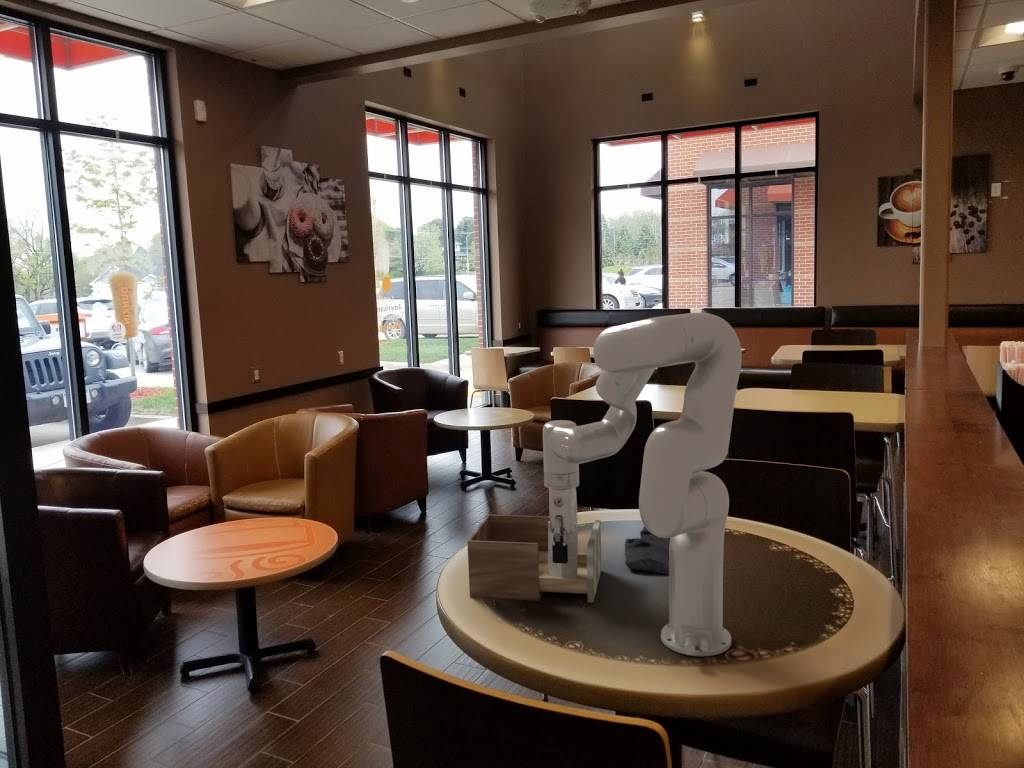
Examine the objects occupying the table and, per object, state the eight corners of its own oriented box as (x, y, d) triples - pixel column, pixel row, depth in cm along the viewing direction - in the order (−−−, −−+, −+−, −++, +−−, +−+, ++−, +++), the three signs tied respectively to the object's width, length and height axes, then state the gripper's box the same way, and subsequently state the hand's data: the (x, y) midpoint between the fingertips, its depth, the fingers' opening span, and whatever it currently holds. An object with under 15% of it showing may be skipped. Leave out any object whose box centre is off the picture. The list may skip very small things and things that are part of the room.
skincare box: (547, 573, 168) (545, 521, 166) (564, 569, 170) (563, 517, 168) (562, 583, 163) (560, 528, 161) (579, 578, 165) (578, 524, 163)
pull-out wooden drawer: (593, 602, 156) (592, 548, 155) (522, 598, 160) (520, 545, 158) (601, 569, 174) (600, 519, 172) (536, 566, 177) (535, 517, 175)
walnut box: (539, 600, 159) (537, 544, 157) (469, 596, 162) (467, 541, 160) (552, 568, 176) (550, 516, 175) (489, 565, 179) (487, 514, 178)
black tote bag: (615, 574, 173) (615, 554, 172) (627, 540, 194) (626, 522, 193) (684, 579, 169) (684, 558, 168) (688, 544, 190) (688, 526, 189)
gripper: (573, 489, 154) (575, 570, 157) (583, 468, 171) (585, 541, 173) (537, 489, 156) (539, 568, 158) (550, 467, 172) (552, 540, 175)
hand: (563, 554), depth 166 cm, fingers open, 9 cm apart
